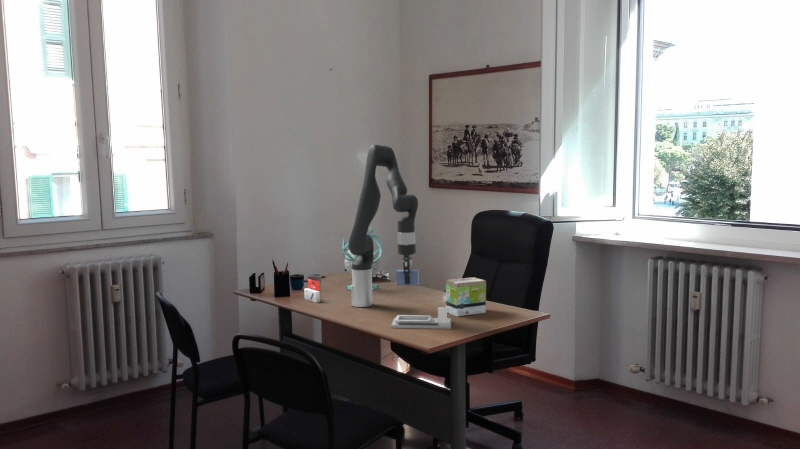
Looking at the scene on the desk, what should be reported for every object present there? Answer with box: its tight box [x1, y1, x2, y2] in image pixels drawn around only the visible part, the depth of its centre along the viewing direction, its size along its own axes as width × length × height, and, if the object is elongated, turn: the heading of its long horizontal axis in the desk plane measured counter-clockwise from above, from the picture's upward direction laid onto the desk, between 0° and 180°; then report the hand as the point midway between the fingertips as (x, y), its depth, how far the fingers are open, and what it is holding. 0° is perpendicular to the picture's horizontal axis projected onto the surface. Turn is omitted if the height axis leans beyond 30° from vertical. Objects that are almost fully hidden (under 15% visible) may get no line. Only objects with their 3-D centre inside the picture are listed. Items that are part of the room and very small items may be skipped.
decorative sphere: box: [344, 248, 381, 277], centre depth 368 cm, size 20×20×20 cm
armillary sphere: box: [341, 226, 383, 292], centre depth 343 cm, size 22×26×35 cm
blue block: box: [395, 268, 420, 286], centre depth 275 cm, size 9×4×6 cm, turn 85°
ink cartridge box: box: [303, 278, 321, 303], centre depth 317 cm, size 2×11×10 cm, turn 39°
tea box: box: [445, 277, 487, 317], centre depth 288 cm, size 15×10×15 cm, turn 117°
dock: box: [390, 306, 452, 330], centre depth 270 cm, size 24×12×7 cm, turn 84°
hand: (407, 282), depth 276 cm, fingers closed on blue block, 4 cm apart
